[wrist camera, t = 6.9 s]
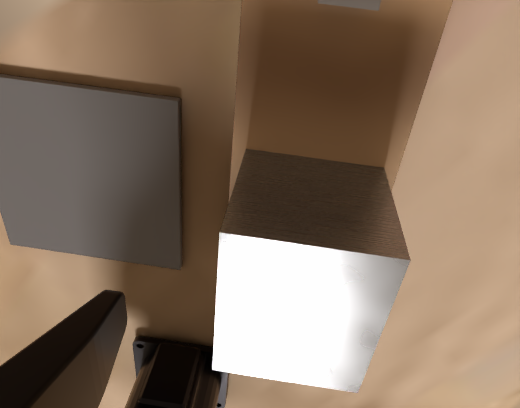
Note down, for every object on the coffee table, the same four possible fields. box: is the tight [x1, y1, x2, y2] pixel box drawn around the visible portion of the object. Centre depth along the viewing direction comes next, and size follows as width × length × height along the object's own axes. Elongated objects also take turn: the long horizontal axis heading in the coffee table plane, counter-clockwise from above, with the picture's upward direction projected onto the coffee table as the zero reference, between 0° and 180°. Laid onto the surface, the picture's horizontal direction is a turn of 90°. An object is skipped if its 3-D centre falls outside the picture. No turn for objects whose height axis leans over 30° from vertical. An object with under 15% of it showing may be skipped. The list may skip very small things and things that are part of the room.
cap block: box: [212, 149, 410, 393], centre depth 15 cm, size 6×5×5 cm
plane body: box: [229, 0, 453, 201], centre depth 14 cm, size 23×6×5 cm, turn 175°
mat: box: [0, 74, 182, 270], centre depth 21 cm, size 10×10×1 cm
